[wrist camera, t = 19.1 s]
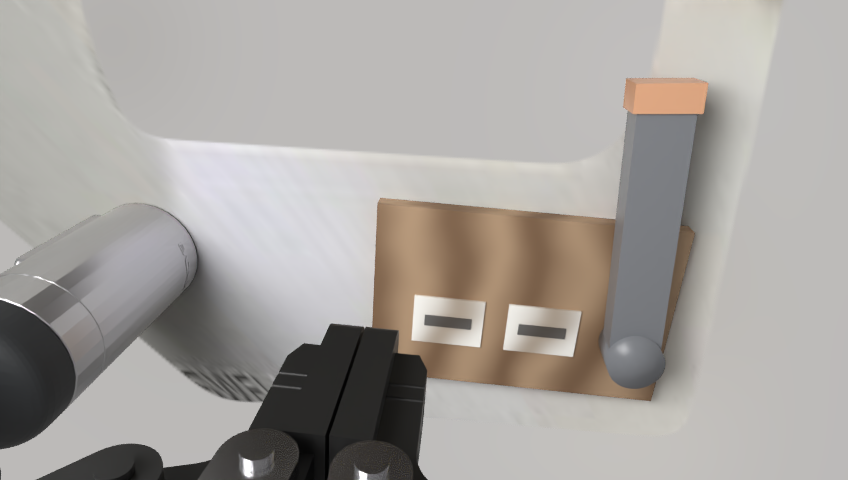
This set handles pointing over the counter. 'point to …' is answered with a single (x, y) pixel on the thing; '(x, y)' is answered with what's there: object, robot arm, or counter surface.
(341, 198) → the counter surface
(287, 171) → the counter surface
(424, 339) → the label board
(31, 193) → the counter surface
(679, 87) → the swing arm
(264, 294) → the counter surface
